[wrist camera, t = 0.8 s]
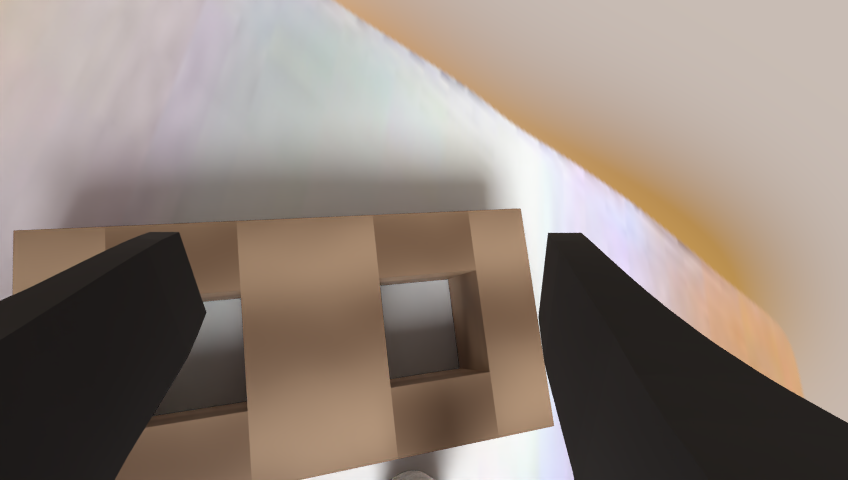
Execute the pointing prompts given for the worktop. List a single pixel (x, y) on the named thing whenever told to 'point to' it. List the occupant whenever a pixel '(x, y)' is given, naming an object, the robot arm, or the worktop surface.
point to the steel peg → (412, 476)
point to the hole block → (337, 340)
